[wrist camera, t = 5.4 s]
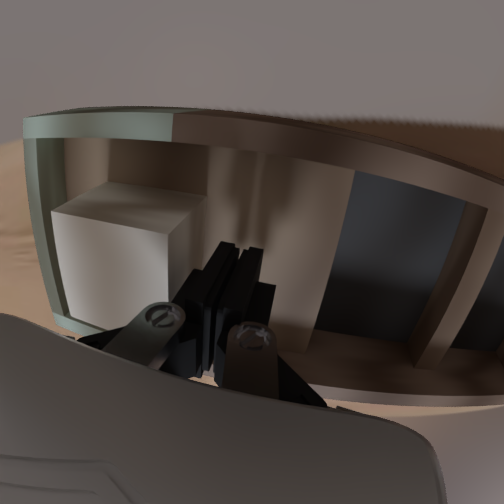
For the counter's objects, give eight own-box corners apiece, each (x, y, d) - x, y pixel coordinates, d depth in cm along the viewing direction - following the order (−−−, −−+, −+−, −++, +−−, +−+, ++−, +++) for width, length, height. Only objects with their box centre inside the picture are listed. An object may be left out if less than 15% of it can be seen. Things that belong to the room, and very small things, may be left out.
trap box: (568, 211, 11) (610, 242, 7) (495, 359, 17) (515, 403, 13) (80, 107, 14) (23, 118, 10) (93, 286, 20) (56, 324, 16)
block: (207, 196, 13) (168, 234, 9) (200, 294, 15) (170, 350, 12) (107, 181, 13) (50, 211, 10) (113, 272, 16) (70, 316, 12)
